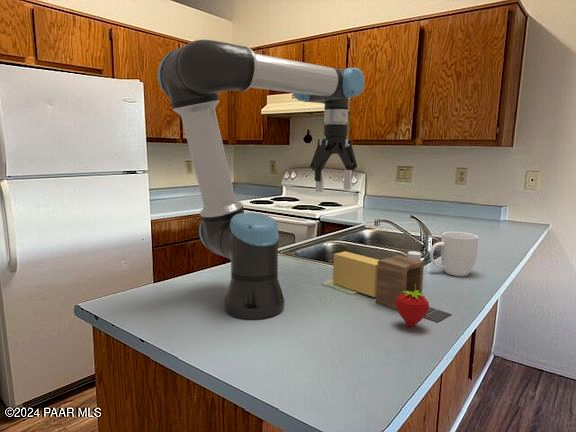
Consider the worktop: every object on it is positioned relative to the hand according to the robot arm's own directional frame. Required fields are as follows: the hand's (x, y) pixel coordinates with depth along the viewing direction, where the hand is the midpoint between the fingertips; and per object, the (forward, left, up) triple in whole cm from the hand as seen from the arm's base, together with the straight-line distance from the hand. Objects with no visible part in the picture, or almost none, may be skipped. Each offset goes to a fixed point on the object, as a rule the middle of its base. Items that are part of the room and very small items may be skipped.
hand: (333, 190), depth 131 cm
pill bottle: (+8, -26, -27) cm, 38 cm away
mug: (+28, -29, -27) cm, 48 cm away
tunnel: (-9, -32, -27) cm, 43 cm away
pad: (-9, -14, -27) cm, 31 cm away
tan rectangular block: (-9, -19, -26) cm, 33 cm away
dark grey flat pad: (-9, -41, -27) cm, 50 cm away
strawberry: (-19, -42, -27) cm, 53 cm away
